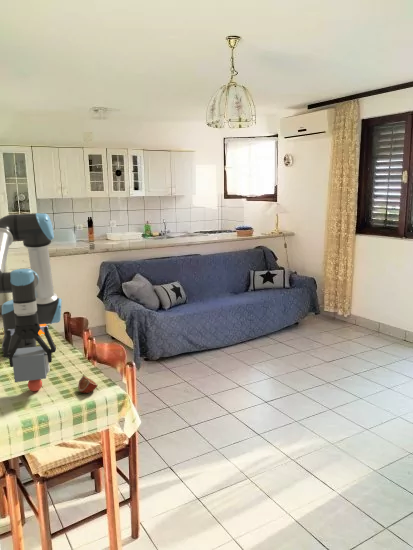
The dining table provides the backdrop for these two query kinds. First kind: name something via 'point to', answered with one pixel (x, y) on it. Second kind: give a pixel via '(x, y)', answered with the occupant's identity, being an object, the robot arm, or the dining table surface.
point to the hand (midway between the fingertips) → (32, 372)
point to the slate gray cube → (29, 364)
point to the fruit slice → (86, 385)
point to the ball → (35, 385)
